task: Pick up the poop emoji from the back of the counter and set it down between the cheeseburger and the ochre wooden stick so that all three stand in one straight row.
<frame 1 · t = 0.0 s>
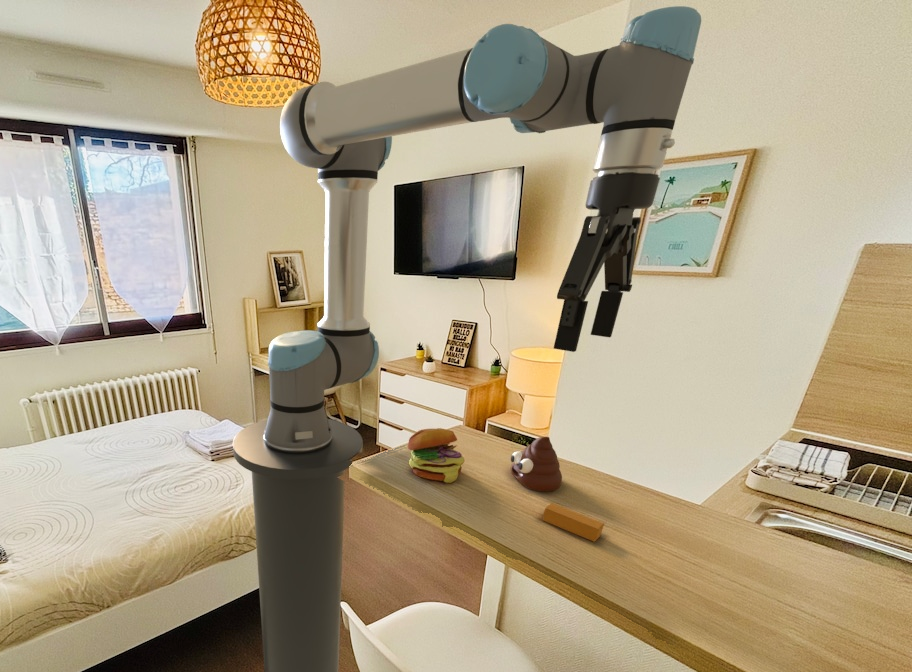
hand: (583, 342, 68), 28 cm above the table, tool pointing down, fingers open, 13 cm apart
cheeseburger: (432, 471, 92), on the table
ochre stick: (570, 527, 74), on the table
poop emoji: (533, 481, 88), on the table
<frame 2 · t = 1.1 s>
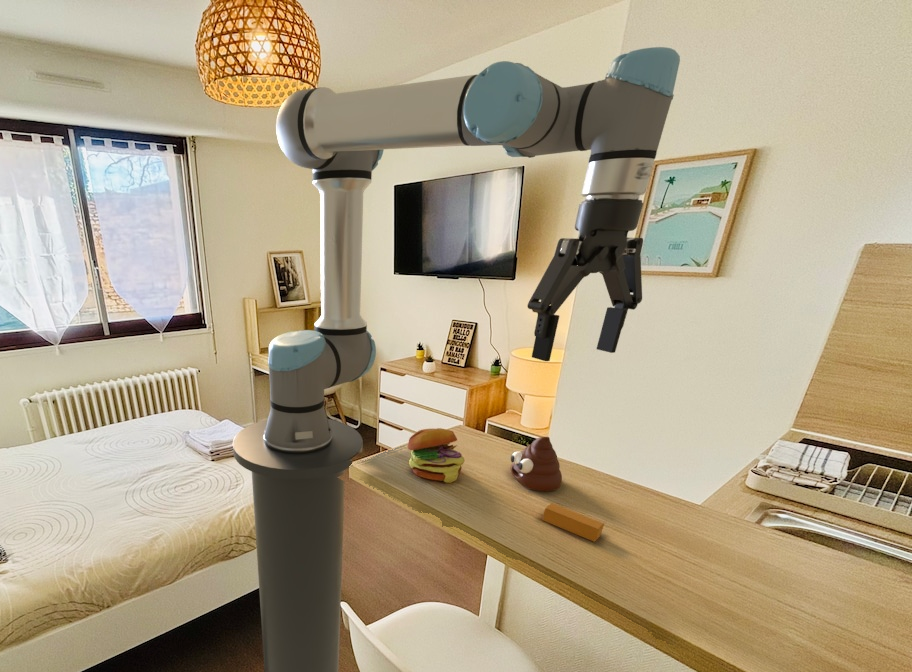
hand: (573, 355, 72), 25 cm above the table, tool pointing down, fingers open, 13 cm apart
nothing on the table moved.
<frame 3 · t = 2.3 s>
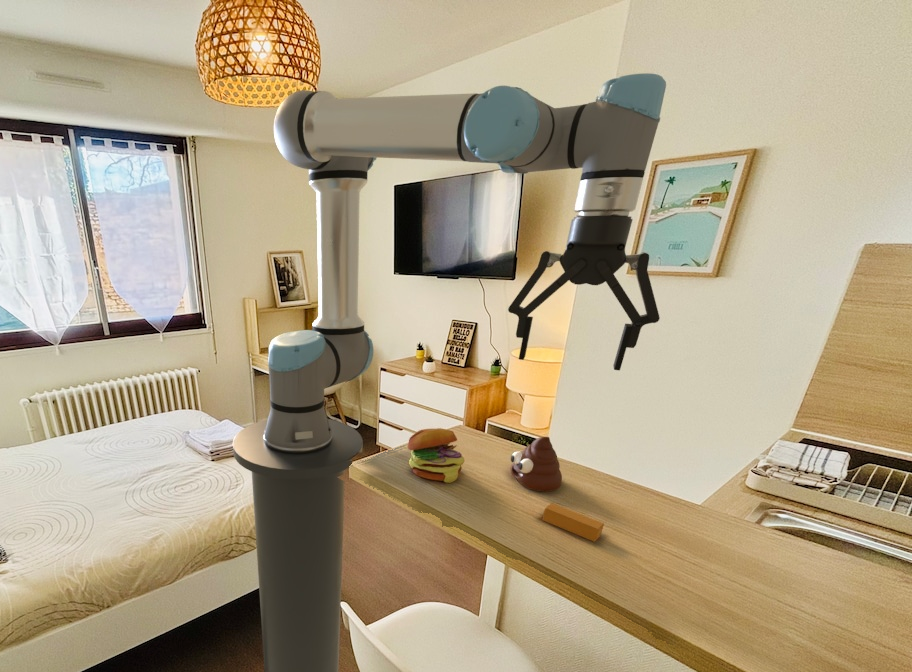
hand: (567, 363, 75), 24 cm above the table, tool pointing down, fingers open, 13 cm apart
nothing on the table moved.
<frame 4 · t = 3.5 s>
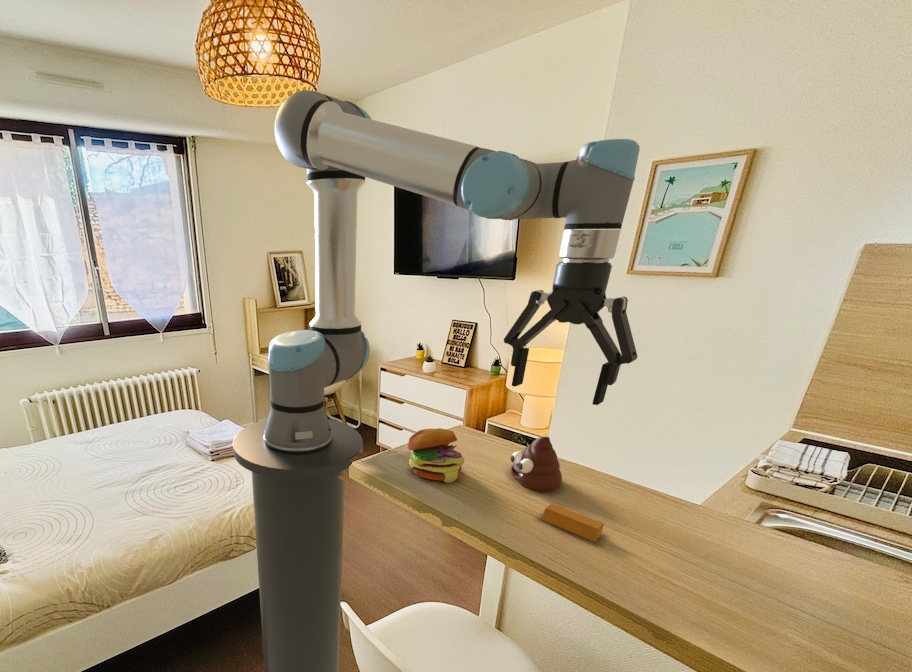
hand: (555, 393, 80), 17 cm above the table, tool pointing down, fingers open, 13 cm apart
nothing on the table moved.
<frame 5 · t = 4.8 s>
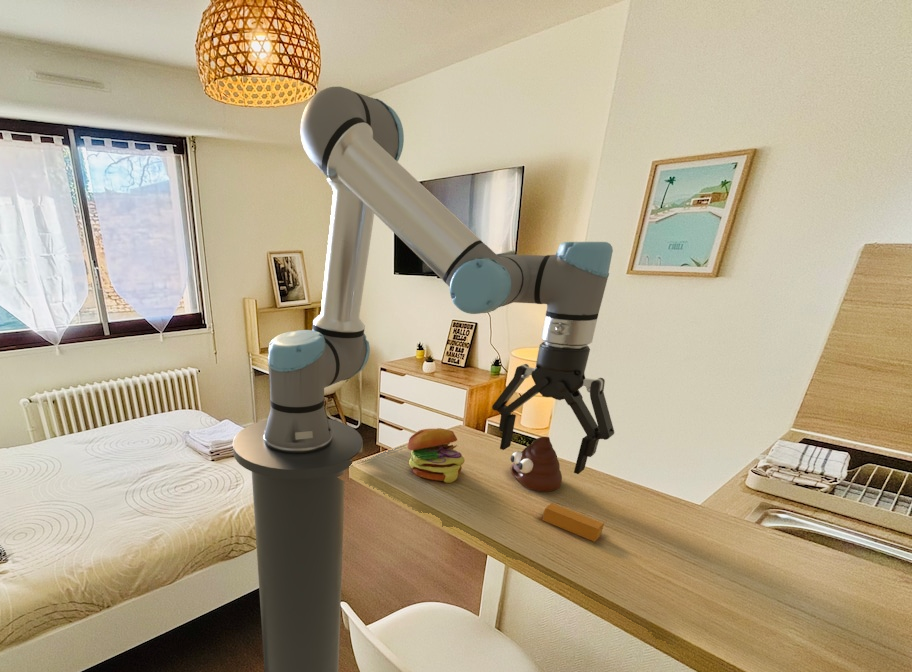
hand: (540, 458, 86), 5 cm above the table, tool pointing down, fingers open, 13 cm apart
nothing on the table moved.
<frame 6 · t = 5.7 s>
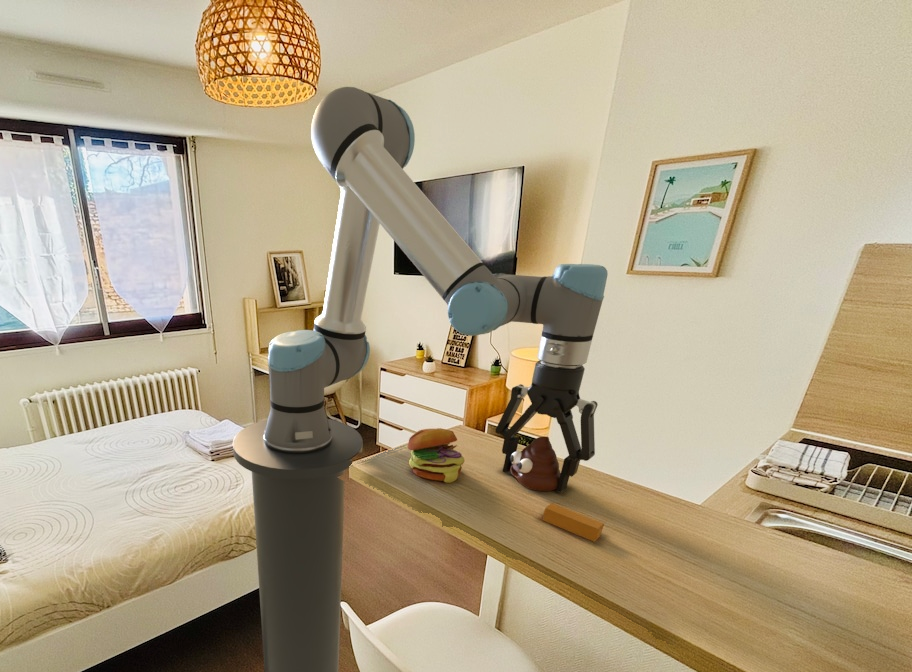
hand: (533, 479, 88), 0 cm above the table, tool pointing down, fingers closed on poop emoji, 9 cm apart
poop emoji: (532, 480, 88), on the table, touching gripper
everything else where it was.
when the fingers open (0 cm above the table, at t = 12.4 s): poop emoji stays where it is, on the table.
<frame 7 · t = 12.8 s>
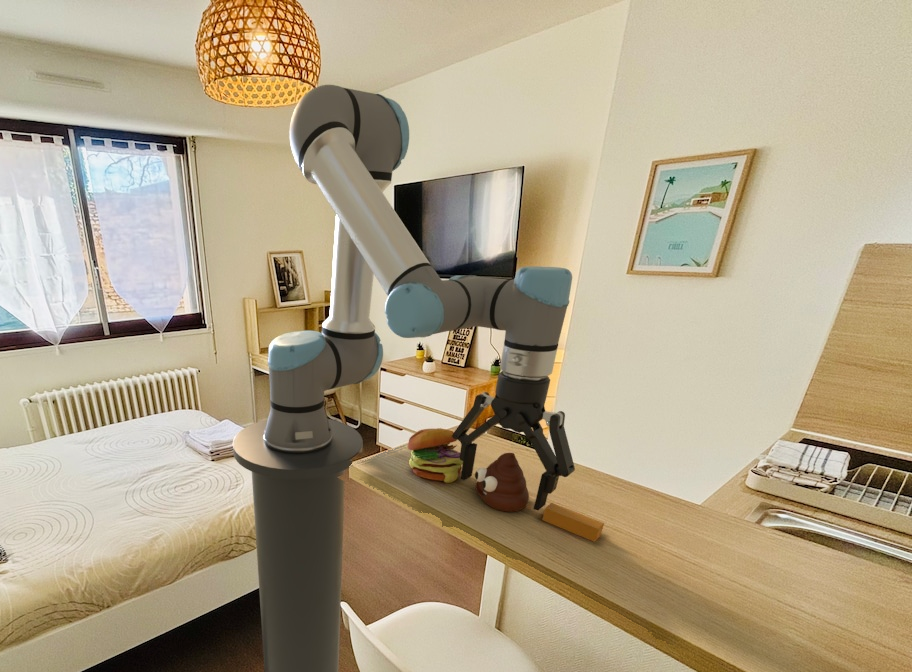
hand: (500, 491, 82), 1 cm above the table, tool pointing down, fingers open, 13 cm apart
poop emoji: (499, 499, 82), on the table
everything else where it was.
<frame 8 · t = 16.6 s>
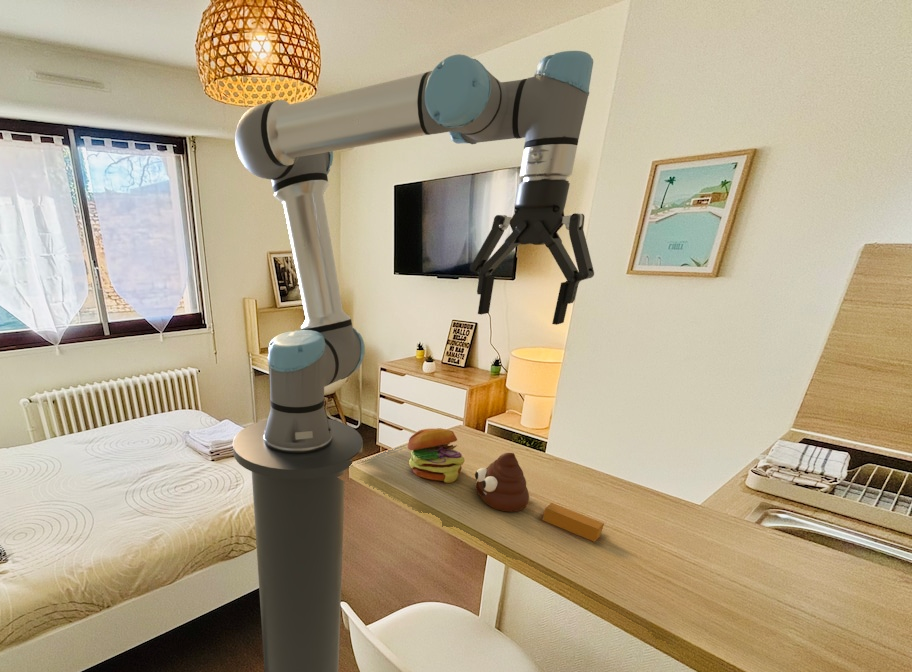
hand: (518, 318, 82), 29 cm above the table, tool pointing down, fingers open, 13 cm apart
nothing on the table moved.
at the end: poop emoji 0.4 cm from the target spot, on the table; poop emoji tilted 0°; the gripper is holding nothing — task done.
